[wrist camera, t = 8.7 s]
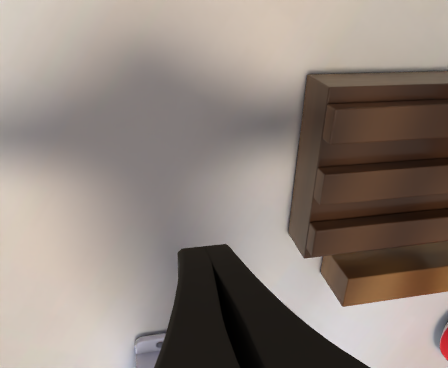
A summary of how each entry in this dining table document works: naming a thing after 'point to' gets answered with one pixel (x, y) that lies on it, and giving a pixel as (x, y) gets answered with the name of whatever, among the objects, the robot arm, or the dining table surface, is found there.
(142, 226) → the dining table surface
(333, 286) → the back rail
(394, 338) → the dining table surface
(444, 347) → the beverage can
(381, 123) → the trivet
